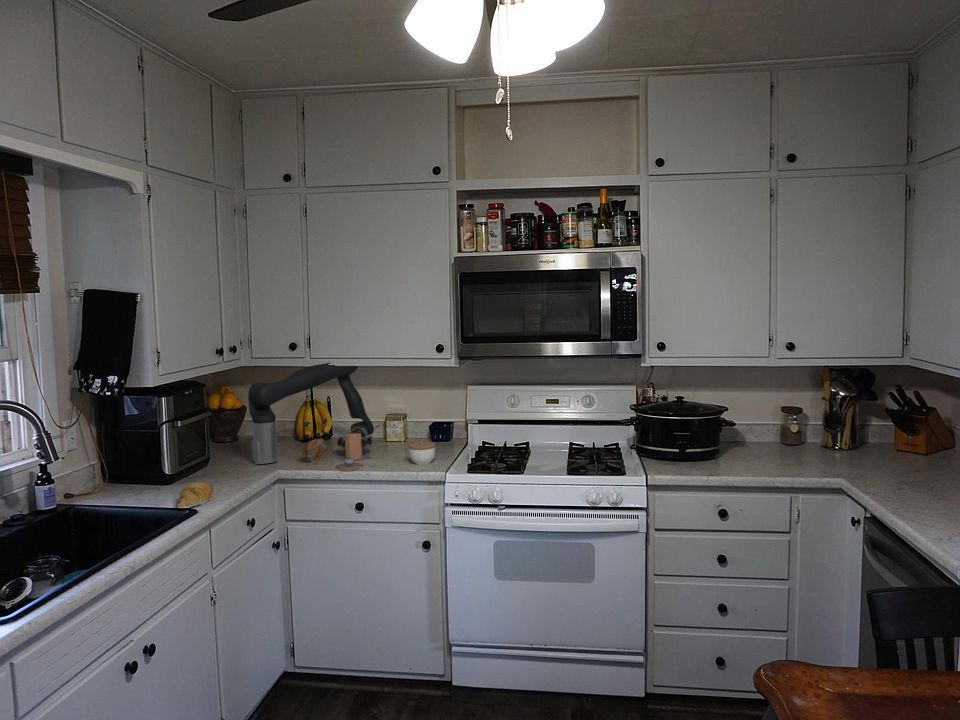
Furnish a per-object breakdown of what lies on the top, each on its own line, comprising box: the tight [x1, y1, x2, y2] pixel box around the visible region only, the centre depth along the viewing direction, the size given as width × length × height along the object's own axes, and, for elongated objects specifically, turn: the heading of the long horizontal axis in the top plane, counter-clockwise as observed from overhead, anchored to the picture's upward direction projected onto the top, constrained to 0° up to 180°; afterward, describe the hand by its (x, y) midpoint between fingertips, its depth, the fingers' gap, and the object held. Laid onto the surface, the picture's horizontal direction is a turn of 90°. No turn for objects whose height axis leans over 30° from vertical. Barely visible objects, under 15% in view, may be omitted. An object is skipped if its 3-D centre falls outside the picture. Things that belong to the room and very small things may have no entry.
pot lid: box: [334, 458, 364, 472], centre depth 272 cm, size 11×11×3 cm
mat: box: [335, 453, 374, 463], centre depth 287 cm, size 12×12×1 cm
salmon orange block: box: [344, 432, 363, 460], centre depth 287 cm, size 6×6×10 cm
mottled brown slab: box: [302, 438, 328, 463], centre depth 287 cm, size 15×3×8 cm, turn 161°
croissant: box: [176, 481, 214, 508], centre depth 231 cm, size 21×10×8 cm, turn 176°
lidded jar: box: [408, 439, 436, 466], centre depth 277 cm, size 11×11×9 cm
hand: (353, 444), depth 285 cm, fingers open, 8 cm apart
